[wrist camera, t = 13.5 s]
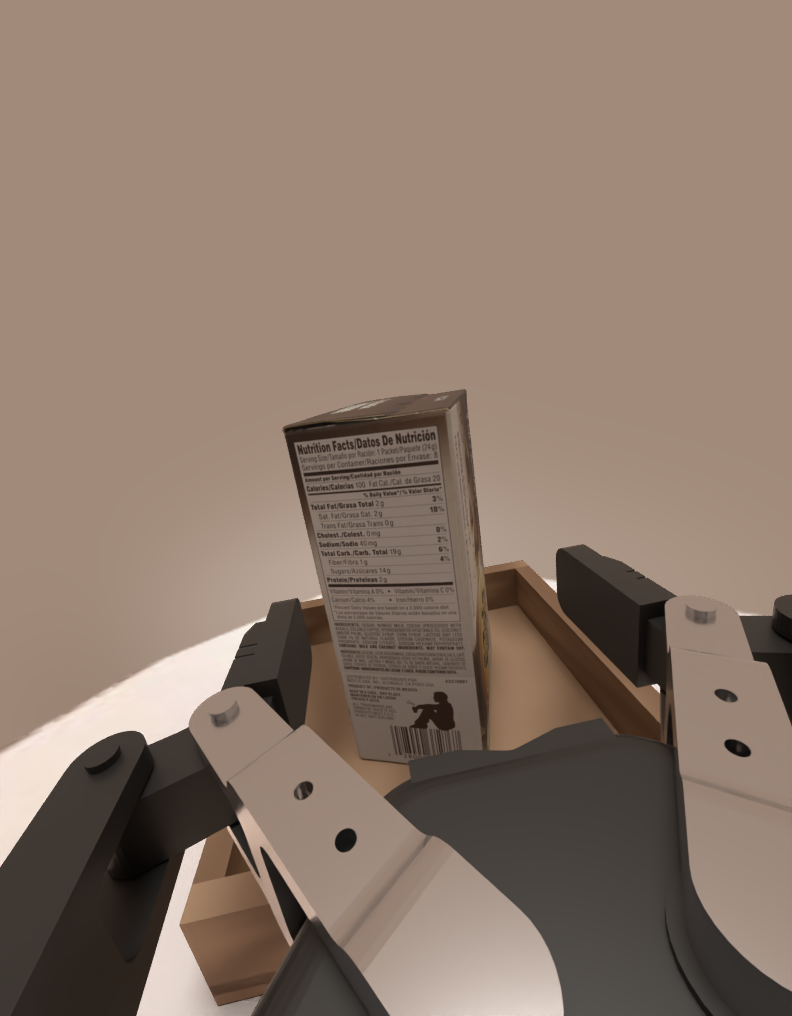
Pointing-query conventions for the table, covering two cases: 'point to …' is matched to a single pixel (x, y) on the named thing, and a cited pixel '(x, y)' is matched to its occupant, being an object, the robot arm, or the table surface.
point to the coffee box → (400, 569)
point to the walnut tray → (513, 722)
